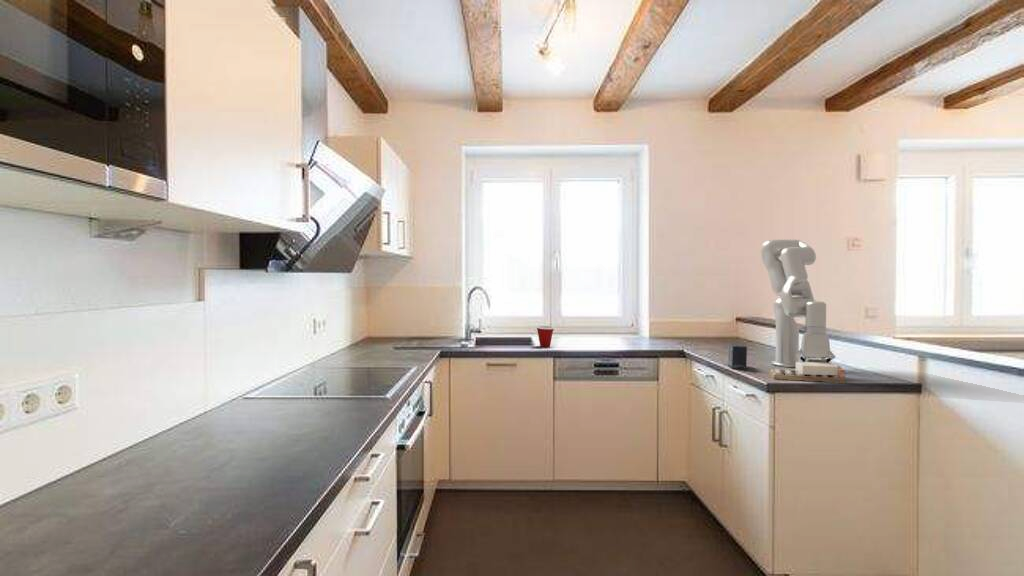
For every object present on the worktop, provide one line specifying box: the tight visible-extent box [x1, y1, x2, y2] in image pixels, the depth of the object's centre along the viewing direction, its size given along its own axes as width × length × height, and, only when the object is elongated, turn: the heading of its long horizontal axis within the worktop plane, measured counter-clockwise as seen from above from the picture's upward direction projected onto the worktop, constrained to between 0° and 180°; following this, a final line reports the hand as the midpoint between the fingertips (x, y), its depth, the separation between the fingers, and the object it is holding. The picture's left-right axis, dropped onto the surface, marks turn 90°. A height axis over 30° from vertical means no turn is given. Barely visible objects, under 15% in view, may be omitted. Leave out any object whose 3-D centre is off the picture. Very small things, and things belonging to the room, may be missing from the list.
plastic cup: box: [535, 324, 555, 348], centre depth 303 cm, size 11×11×12 cm
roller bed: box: [769, 364, 846, 384], centre depth 211 cm, size 12×25×5 cm, turn 69°
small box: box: [727, 342, 748, 370], centre depth 235 cm, size 11×6×10 cm, turn 168°
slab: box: [795, 361, 839, 375], centre depth 210 cm, size 8×13×4 cm, turn 78°
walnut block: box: [808, 358, 823, 363], centre depth 218 cm, size 5×5×6 cm
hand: (815, 372), depth 218 cm, fingers closed on walnut block, 5 cm apart
